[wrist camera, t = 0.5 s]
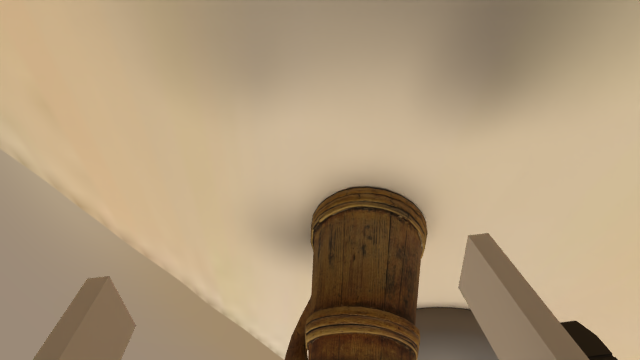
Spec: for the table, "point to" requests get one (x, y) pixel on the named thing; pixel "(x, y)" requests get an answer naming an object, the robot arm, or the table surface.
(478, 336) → the charcoal plinth
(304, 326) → the wooden mug
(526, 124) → the table surface
